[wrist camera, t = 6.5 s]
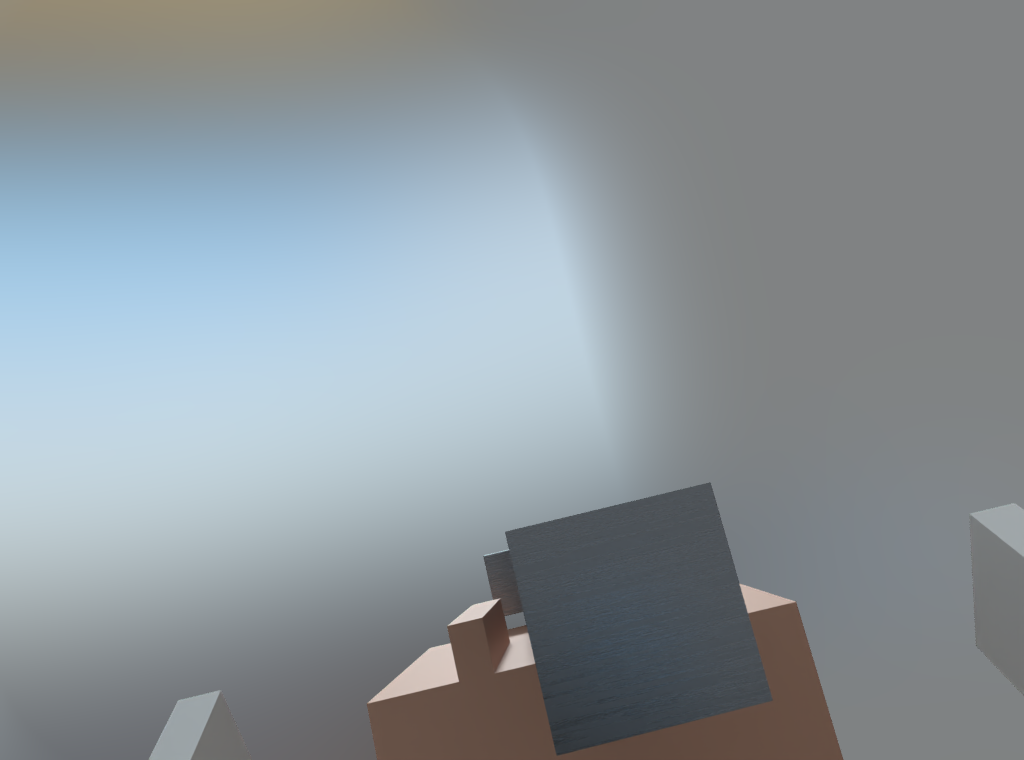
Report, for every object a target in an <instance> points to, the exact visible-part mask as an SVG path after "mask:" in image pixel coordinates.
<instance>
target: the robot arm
mask: <svg viewBox="0 0 1024 760" xmlns="http://www.w3.org/2000/svg"><path fill="white" fill-rule="evenodd" d="M969 515H970V536H971V554H972V555H971V556H972V573H973V574H972V576H973V594H974V615H975V633H976V646H977V647H978V648H979V649H980V650H981V652H983V654H984V655H985V656H986V657H987V658H988V659H989V660H990V661H991V662H992V663H993V664H994V665H995V666H996V667H997V668H998V669H999V670H1000V671H1001V672H1002V673H1003V675H1004V676H1005V677H1006V678H1007V679H1008V680H1009V681H1010V682H1011V683H1012V684H1013V685H1014V686H1015V687H1016V688H1017V689H1018V690H1019V691H1020V692H1021V693H1022V694H1023V695H1024V510H1023V509H1022V508H1020V507H1019V506H1018V505H1016V504H1015V503H1013V504H1009V505H1005V506H1001V507H996V508H992V509H988V510H984V511H980V512H975V513H971V514H969ZM149 760H252V759H251V756H250V754H249V752H248V749H247V747H246V745H245V743H244V741H243V739H242V736H241V734H240V732H239V730H238V727H237V725H236V723H235V721H234V718H233V716H232V714H231V712H230V710H229V707H228V705H227V703H226V701H225V698H224V696H223V694H222V692H221V690H220V691H216V692H212V693H208V694H203V695H199V696H195V697H190V698H186V699H182V700H178V702H177V705H176V706H175V708H174V710H173V712H172V714H171V716H170V718H169V720H168V722H167V724H166V726H165V728H164V730H163V732H162V734H161V736H160V738H159V740H158V742H157V744H156V746H155V748H154V750H153V752H152V754H151V756H150V758H149Z"/></svg>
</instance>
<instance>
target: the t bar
mask: <svg viewBox="0 0 1024 760" xmlns="http://www.w3.org/2000/svg"><path fill="white" fill-rule="evenodd" d="M505 534H506V538H507V543H508V547H509V550H505V551H501V552H497V553H493V554H489V555H485V556H484V561H485V565H486V570H487V575H488V579H489V584H490V587H491V592H492V597H493V600H496V599H501V603H502V608H503V612H504V616H507V615H511V614H515V613H519V612H524V616H525V621H526V625H527V629H528V634H529V638H530V642H531V647H532V651H533V656H534V660H535V664H536V669H537V673H538V677H539V682H540V686H541V690H542V695H543V699H544V703H545V708H546V712H547V716H548V721H549V725H550V729H551V734H552V738H553V742H554V747H555V751H556V755H557V756H558V755H562V754H566V753H570V752H574V751H578V750H582V749H586V748H589V747H593V746H597V745H601V744H605V743H609V742H613V741H617V740H621V739H625V738H629V737H633V736H637V735H641V734H644V733H648V732H652V731H656V730H660V729H664V728H668V727H672V726H676V725H680V724H684V723H688V722H692V721H696V720H699V719H703V718H707V717H711V716H715V715H719V714H723V713H727V712H731V711H735V710H739V709H743V708H747V707H750V706H754V705H758V704H762V703H766V702H770V701H773V699H772V695H771V692H770V689H769V685H768V682H767V678H766V675H765V671H764V668H763V664H762V661H761V657H760V654H759V650H758V647H757V643H756V640H755V636H754V633H753V629H752V626H751V622H750V619H749V615H748V612H747V608H746V605H745V601H744V598H743V594H742V591H741V587H740V584H739V580H738V577H737V574H736V570H735V566H734V563H733V559H732V556H731V552H730V549H729V545H728V542H727V538H726V535H725V532H724V528H723V525H722V521H721V517H720V514H719V511H718V507H717V504H716V500H715V497H714V493H713V490H712V486H711V483H706V484H702V485H698V486H694V487H690V488H686V489H682V490H677V491H673V492H669V493H665V494H661V495H656V496H653V497H648V498H644V499H640V500H636V501H631V502H627V503H623V504H619V505H615V506H611V507H607V508H602V509H598V510H594V511H590V512H586V513H582V514H577V515H574V516H569V517H565V518H561V519H557V520H553V521H548V522H544V523H540V524H536V525H532V526H528V527H524V528H519V529H515V530H511V531H507V532H505Z"/></svg>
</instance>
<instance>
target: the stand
mask: <svg viewBox="0 0 1024 760" xmlns="http://www.w3.org/2000/svg"><path fill="white" fill-rule="evenodd" d="M740 587H741V591H742V594H743V598H744V601H745V605H746V608H747V612H748V615H749V619H750V622H751V626H752V629H753V633H754V636H755V640H756V643H757V647H758V650H759V654H760V657H761V661H762V664H763V668H764V671H765V675H766V678H767V682H768V685H769V689H770V692H771V695H772V699H773V701H770V702H766V703H762V704H758V705H754V706H750V707H747V708H743V709H739V710H735V711H731V712H727V713H723V714H719V715H715V716H711V717H707V718H703V719H699V720H696V721H692V722H688V723H684V724H680V725H676V726H672V727H668V728H664V729H660V730H656V731H652V732H648V733H644V734H641V735H637V736H633V737H629V738H625V739H621V740H617V741H613V742H609V743H605V744H601V745H597V746H593V747H589V748H586V749H582V750H578V751H574V752H570V753H566V754H562V755H558V756H557V755H556V751H555V747H554V742H553V738H552V734H551V729H550V725H549V721H548V716H547V712H546V708H545V703H544V699H543V695H542V690H541V686H540V682H539V677H538V673H537V669H536V664H535V660H534V656H533V651H532V647H531V642H530V638H529V634H528V629H527V625H525V626H521V627H517V628H513V629H508V630H507V626H506V621H505V617H504V612H503V608H502V603H501V599H496V600H491V601H487V602H483V603H479V604H475V605H472V606H471V607H470V608H468V609H467V610H466V611H465V612H464V613H463V614H461V615H460V616H459V617H458V618H456V619H455V620H454V621H453V622H452V623H450V624H449V625H448V626H447V628H448V632H449V637H450V642H451V643H450V644H446V645H441V646H437V647H433V648H430V649H429V650H427V652H425V653H424V654H423V655H422V656H420V658H418V659H417V660H416V661H415V662H414V663H412V664H411V665H410V666H409V667H408V668H407V669H406V670H405V671H403V672H402V673H401V674H400V675H399V676H398V677H397V678H395V679H394V680H393V681H392V682H391V683H390V684H389V685H388V686H387V687H385V688H384V689H383V690H382V691H381V692H380V693H378V694H377V695H376V696H375V697H374V698H373V699H372V700H370V702H368V703H367V707H368V712H369V718H370V723H371V729H372V734H373V739H374V745H375V750H376V755H377V760H843V757H842V754H841V750H840V747H839V744H838V740H837V737H836V734H835V730H834V727H833V724H832V720H831V717H830V714H829V711H828V707H827V704H826V700H825V697H824V694H823V690H822V687H821V684H820V680H819V677H818V674H817V670H816V667H815V664H814V660H813V657H812V653H811V650H810V647H809V643H808V640H807V637H806V634H805V630H804V627H803V623H802V620H801V617H800V613H799V610H798V607H797V604H796V602H795V601H792V600H789V599H786V598H783V597H780V596H776V595H773V594H770V593H767V592H764V591H761V590H758V589H755V588H752V587H749V586H745V585H742V584H740Z"/></svg>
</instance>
